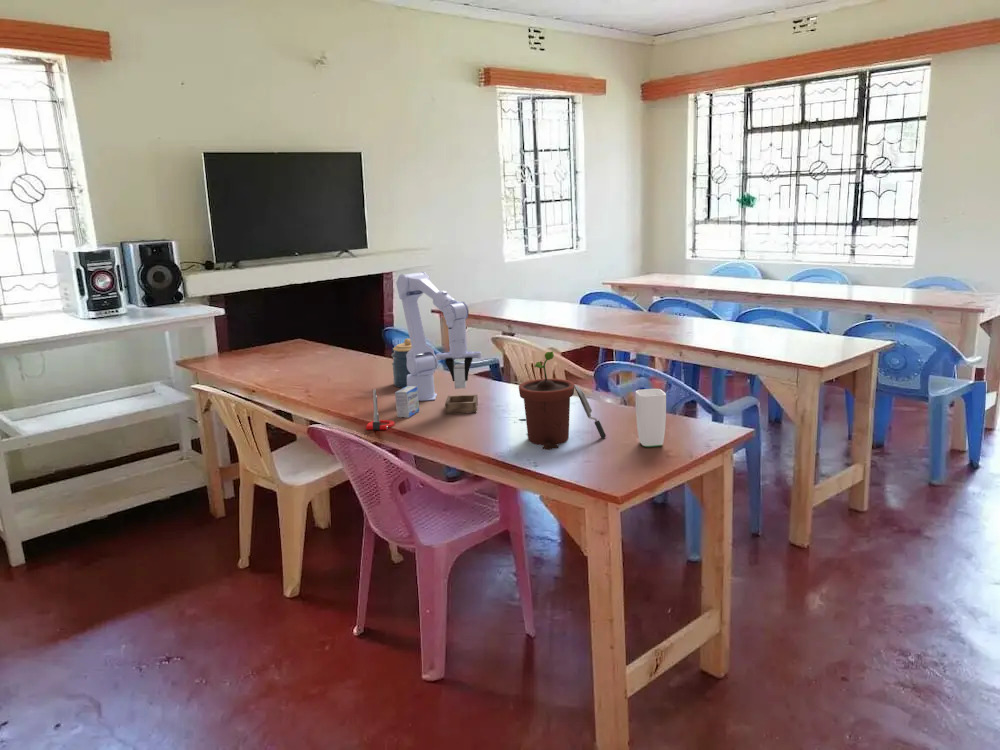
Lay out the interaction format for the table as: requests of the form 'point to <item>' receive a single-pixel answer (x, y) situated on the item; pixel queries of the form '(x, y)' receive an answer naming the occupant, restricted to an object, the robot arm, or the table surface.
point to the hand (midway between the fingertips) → (460, 380)
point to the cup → (651, 416)
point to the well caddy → (461, 404)
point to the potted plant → (551, 409)
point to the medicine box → (407, 401)
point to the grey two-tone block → (459, 376)
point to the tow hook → (377, 423)
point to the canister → (401, 363)
